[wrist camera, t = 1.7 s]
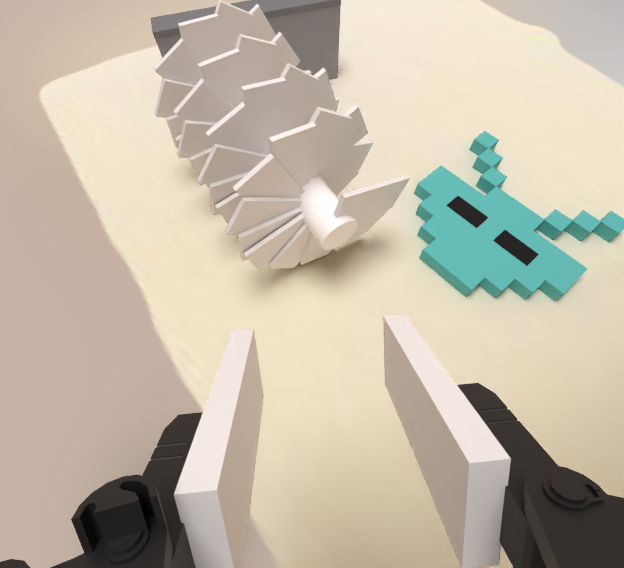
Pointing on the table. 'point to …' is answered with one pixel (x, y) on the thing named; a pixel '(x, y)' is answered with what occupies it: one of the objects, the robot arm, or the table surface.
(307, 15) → the slate board
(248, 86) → the spiral staircase
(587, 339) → the table surface
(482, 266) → the alien figure
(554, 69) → the table surface
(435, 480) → the robot arm
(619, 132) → the table surface
